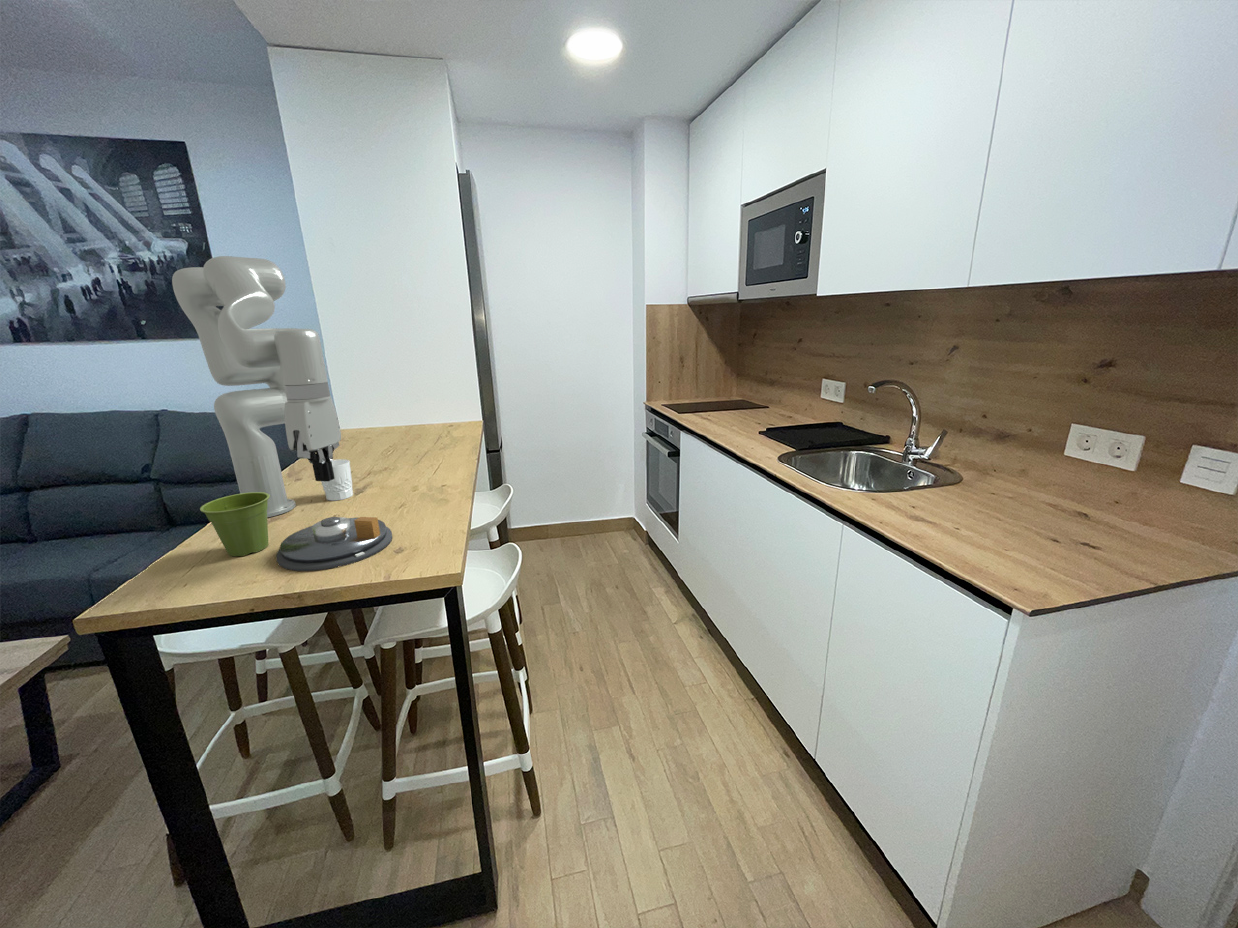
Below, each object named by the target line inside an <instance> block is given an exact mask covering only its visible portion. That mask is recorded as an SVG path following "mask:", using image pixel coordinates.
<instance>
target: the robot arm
mask: <svg viewBox="0 0 1238 928" xmlns="http://www.w3.org/2000/svg"><path fill="white" fill-rule="evenodd" d="M171 283H172V289H173V290H172V291H173V292H174V295H175V299H176V301H177V302H178V305H179V306H180V308H181V310H182V311H183V312H184V314H185V315H186V317H187V318H188V320H189V321H190V323H191V324H192V325H193V327H194V328H195V331H196V333H197V336H198V339H199V342H200V345H201V348H202V351H203V354H204V358H205V360H206V363H207V364H206V365H207V367H208V369H209V372H210V374H211V377H212V379H213V380H214V381H215V382H216V383H217V384H218V385H221V386H224V387H225V386H227V387H230V386H231V387H235V386H236V387H237V386H248V385H259V384H260V385H261V384H266V385H267V386H268V388H267V387H265V388H253V389H252V388H251V389H244V390H234V391H229V392H226V393H222V394H220V395H219V396H217V397H216V398H215V400H214V404H213V410H214V413H215V416H216V418H217V421H218V422H219V425H220V427H221V428H222V431H223V434H224V437H225V439H226V442H227V447H228V449H229V455H230V458H231V460H232V461H231V463H232V465H233V470H234V474H235V477H236V481H237V486H238V490H239V494H241V493H250V492H264V493H268V494H269V495H270V497H269V499H268V508H267V518H271V517H275V516H279V515H282V514H285V513H288V512H290V511H291V510H293V509H294V508H295V507H296V505H297V504H296V501H295V500H294V499H291V498H290V499H289V498H288V497H287V496H288V495H287V491H286V487H285V483H284V478H283V473H282V469H281V465H280V460H279V456H278V455H279V454H278V450H277V446H276V444H275V441H274V440H273V439H272V438H271V437H270V436H269V435H267V434H266V433H264V432H263V431H262V430H261V429H262V428H265V427H270V426H271V427H272V426H276V425H277V426H278V425H283V424H285V433H286V434H285V435H286V439H287V446H288V448H289V450H290V451H292V452H296V453H297V454H296V455H297V458H298V459H304V460H305V459H306V460H308V463H309V464H311V465H312V469H313V474H314V478H315V479H314V480H315V481H316V482H321V481H330V480H333V479H334V478H335V477H334V472H333V467H332V462H331V460H334V459H333V458H334V454H333V453H334V451H335V450H336V449H337V448H339V446H340V441H341V440H342V433H341V430H342V429H341V424H340V422H339V418H338V417H339V416H338V414H337V410H336V407H335V403H334V401H333V399H332V398H333V397H332V396H331V393H330V391H331V390H330V387H329V382H328V381H329V380H328V376H327V375H328V374H327V371H326V370H327V369H326V365H325V359H324V353H323V349H322V343H321V338H320V335H319V333H318V332H317V331H316V330H314V329H313V328H294V327H291V328H289V327H285V328H282V327H281V328H280V327H273V328H265V327H264V328H254V327H257V326H259V325H261V324H263V323H266V322H267V321H268V320H270V318H271V317H273V314H274V313H275V309H276V306H275V301H277V300H279V299H280V298H282V297H283V295H284V294H285V292H286V287H287V286H286V283H287V282H286V279H285V275H284V274H283V272H282V269H280V268H279V266H278V265H277V264H276V263H274V262H273V261H271V260H268V259H265V258H257V257H256V258H255V257H244V256H243V257H242V256H229V255H225V256H224V255H219V256H216V257H212V258H209V259H208V260H207V261H206V262H205V263H204V265H203V267H202V266H201V267H200V266H199V267H198V266H197V267H196V266H195V267H185V268H181V269H178V270H176V271H175V272H174V273H173V274H172V278H171ZM218 307H222V308H221V309H220V308H218Z"/></svg>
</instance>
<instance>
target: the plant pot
mask: <svg viewBox="0 0 1238 928" xmlns="http://www.w3.org/2000/svg"><path fill="white" fill-rule="evenodd" d="M269 497H270V495H269V494H268V493H264V492H250V493H241V494H240V493H236V494H232V495H226V496H224V497H223V496H222V497H219V498H216V499H214V500H211V501H209V502H206V503H204V504H203V505H201V506H200V508H199V510H200V512H201V513H204V514H205V515H206V518H207V520H208V521H209V522H210V523H211V525H212V526H213V528H214V530H215V532H216V534H217V535H218V538H219V539H220V541H221V543H222V545H223V547H224V549H225V551H226V553H227V554H228V555H229V556H230V557H231V556H232V557H245V556H248V555H249V554H251V553H258V552H261V551H262V550H264V549H266V548H267V547H268V546H269V527H268V517H267V508H268V499H269Z"/></svg>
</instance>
